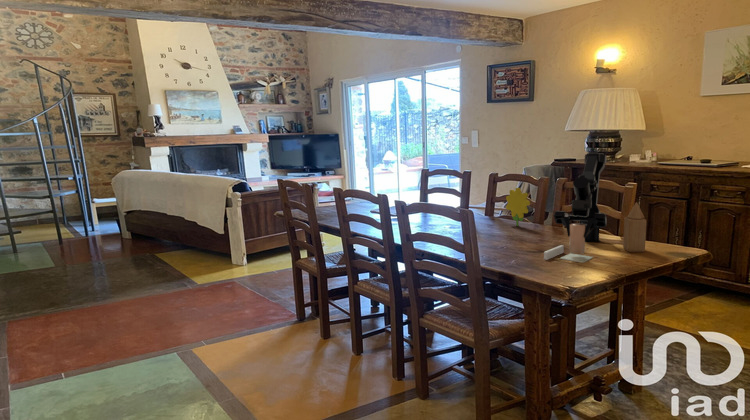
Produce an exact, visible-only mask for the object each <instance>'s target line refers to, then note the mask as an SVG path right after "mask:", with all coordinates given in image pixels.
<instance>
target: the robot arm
mask: <svg viewBox="0 0 750 420" xmlns="http://www.w3.org/2000/svg"><path fill="white" fill-rule="evenodd" d="M607 161H608V158H607V155H606V154H604V153H600V152H588V153H586V154H584V169H583V172H582V173H581V174H579V175H578V177H577V178H575V179H574V180H573V182H572V185H573V191H574V194H575V196H576V197H575V199H572V201H571V214H570V213H566V211H565V210H556V211H554V213H553V217H554V218H553V219H554V222H555V223H556V224H557V225H562V226H565V227H566V232H567V233H566V234H567V237H569V238H570V224H571V221H573V222H575V221H576V222H579V223H580V224H585V233H584V238H585V243H586V242H587V243H588V242H589V243H591V242H594V243H595V242H599V243H600V242H601V240H600V229H602V228H605V227H607V214H606V213H605V212H601V211H600V209H599V206H598V199H599V190H600V189H599V188H600V179H601V177H600V176H601V174H602V172H603V171H604V170H605V166H606V164H607Z"/></svg>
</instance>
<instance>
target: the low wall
mask: <svg viewBox="0 0 750 420" xmlns="http://www.w3.org/2000/svg"><path fill="white" fill-rule="evenodd" d="M564 248H565V247H564V244H563V245H562V244H560V245H557V246H555V247H553V248H551V249H548V250H546V251H544V252H543V260H545V261H549V260H550V259H552V258H555V257H557V256H559V255H561V254H564Z"/></svg>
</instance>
